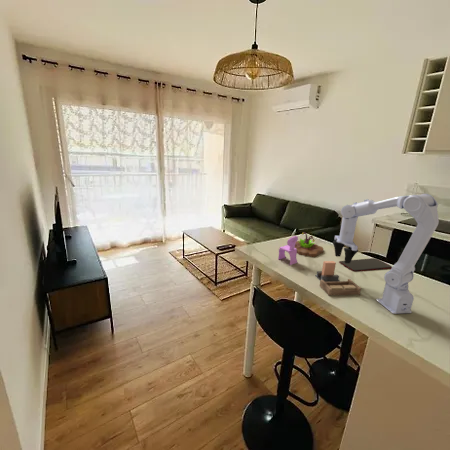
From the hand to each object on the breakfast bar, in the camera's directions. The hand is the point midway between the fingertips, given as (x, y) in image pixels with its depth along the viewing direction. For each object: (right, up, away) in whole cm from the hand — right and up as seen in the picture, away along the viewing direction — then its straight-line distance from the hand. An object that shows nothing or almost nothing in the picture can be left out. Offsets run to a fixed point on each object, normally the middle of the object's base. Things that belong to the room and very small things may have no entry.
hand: (342, 259), depth 115 cm
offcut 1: (-7, -13, -8) cm, 17 cm away
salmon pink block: (-6, -9, +3) cm, 11 cm away
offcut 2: (-1, -13, -8) cm, 15 cm away
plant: (-5, 0, +39) cm, 39 cm away
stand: (-6, -9, +4) cm, 12 cm away
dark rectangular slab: (+21, -7, +20) cm, 30 cm away
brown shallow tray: (-4, -12, -6) cm, 15 cm away
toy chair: (-20, -4, +22) cm, 30 cm away
